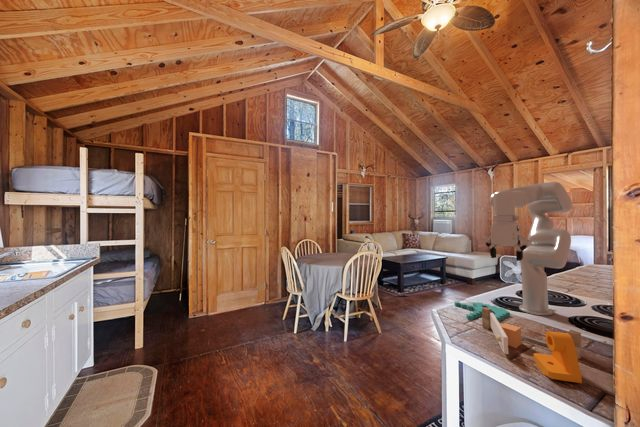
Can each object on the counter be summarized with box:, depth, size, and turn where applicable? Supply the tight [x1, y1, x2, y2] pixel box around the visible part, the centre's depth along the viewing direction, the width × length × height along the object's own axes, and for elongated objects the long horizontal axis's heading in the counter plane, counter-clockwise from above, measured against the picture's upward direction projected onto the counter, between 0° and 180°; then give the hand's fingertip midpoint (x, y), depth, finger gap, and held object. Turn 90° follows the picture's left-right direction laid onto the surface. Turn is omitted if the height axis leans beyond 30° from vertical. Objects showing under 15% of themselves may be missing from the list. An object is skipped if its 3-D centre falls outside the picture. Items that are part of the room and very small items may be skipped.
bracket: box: [533, 330, 583, 384], centre depth 77 cm, size 11×7×12 cm, turn 161°
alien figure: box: [453, 301, 511, 323], centre depth 125 cm, size 20×2×20 cm
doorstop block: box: [500, 322, 522, 349], centre depth 95 cm, size 5×5×6 cm
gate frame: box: [481, 307, 583, 360], centre depth 97 cm, size 3×30×8 cm, turn 32°
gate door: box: [490, 313, 509, 355], centre depth 96 cm, size 2×24×6 cm, turn 156°
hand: (506, 259), depth 111 cm, fingers open, 9 cm apart
